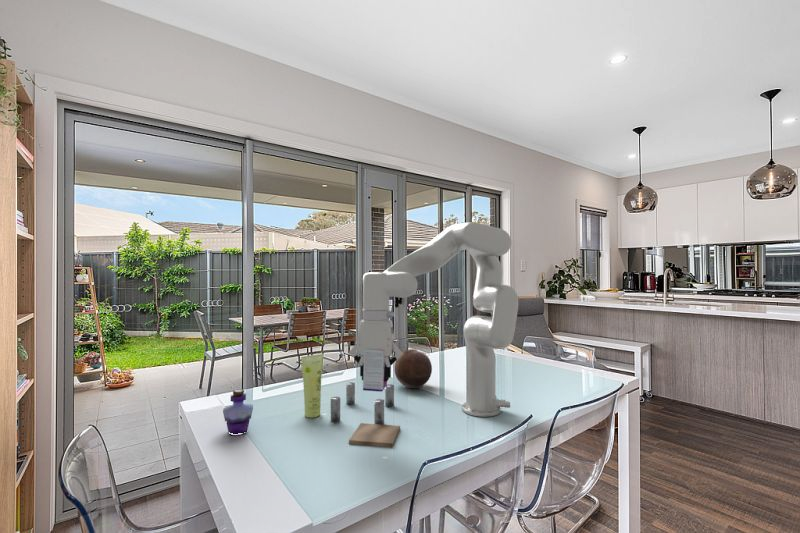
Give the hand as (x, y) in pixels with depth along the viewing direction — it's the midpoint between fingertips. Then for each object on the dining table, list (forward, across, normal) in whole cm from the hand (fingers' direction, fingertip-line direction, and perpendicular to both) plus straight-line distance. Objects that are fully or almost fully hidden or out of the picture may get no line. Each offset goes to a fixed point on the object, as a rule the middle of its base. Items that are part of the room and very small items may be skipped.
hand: (375, 379), depth 112 cm
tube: (+16, +24, -12) cm, 31 cm away
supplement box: (+3, 0, 0) cm, 3 cm away
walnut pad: (+16, 0, 0) cm, 16 cm away
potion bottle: (+17, +40, +4) cm, 43 cm away
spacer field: (+16, +8, -17) cm, 25 cm away
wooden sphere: (+16, -4, -48) cm, 51 cm away
